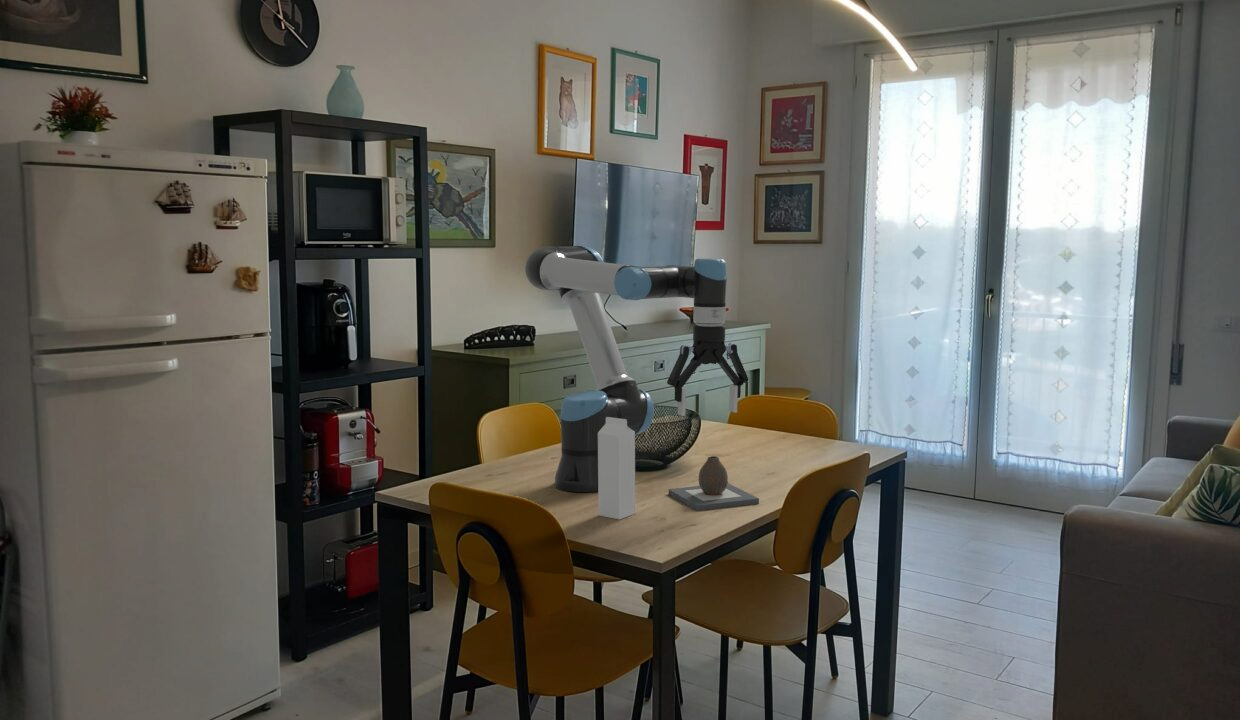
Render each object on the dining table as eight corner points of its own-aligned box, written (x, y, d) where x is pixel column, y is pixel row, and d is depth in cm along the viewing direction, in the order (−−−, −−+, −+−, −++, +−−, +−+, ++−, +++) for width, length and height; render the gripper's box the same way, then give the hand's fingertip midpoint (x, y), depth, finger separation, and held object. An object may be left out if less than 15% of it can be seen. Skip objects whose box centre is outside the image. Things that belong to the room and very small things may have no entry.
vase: (729, 497, 221) (729, 460, 220) (699, 497, 221) (699, 460, 220) (726, 489, 228) (726, 454, 227) (697, 489, 228) (697, 454, 227)
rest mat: (697, 510, 214) (697, 505, 214) (668, 493, 229) (668, 488, 229) (758, 503, 220) (759, 498, 220) (727, 487, 235) (727, 482, 235)
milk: (614, 509, 216) (613, 414, 214) (635, 514, 212) (635, 417, 210) (597, 515, 211) (597, 418, 209) (619, 520, 207) (618, 421, 205)
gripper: (666, 327, 214) (665, 419, 216) (764, 324, 222) (761, 413, 225) (654, 324, 221) (653, 413, 223) (748, 321, 229) (746, 407, 232)
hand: (707, 413), depth 224 cm, fingers open, 13 cm apart
